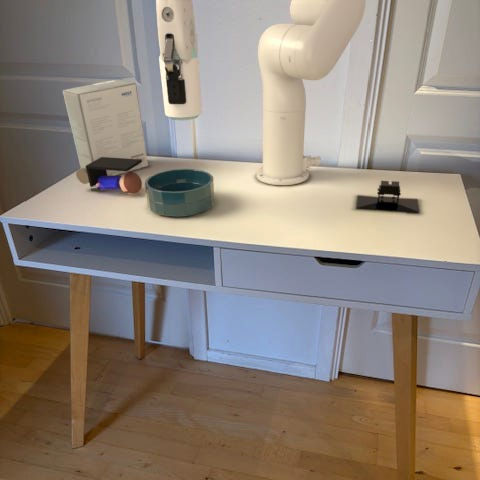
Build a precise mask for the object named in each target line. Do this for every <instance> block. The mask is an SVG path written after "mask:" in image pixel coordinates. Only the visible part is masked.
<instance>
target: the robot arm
mask: <svg viewBox="0 0 480 480" xmlns="http://www.w3.org/2000/svg"><path fill="white" fill-rule="evenodd" d="M366 3H367V0H291V1H290V5H289V16H290V19H291V21H292V23H287V22H286V23H285V22H283V23H282V22H281V23H277V24H273V25H271V26H269V27H267V28H266V29H265V30H264V31H263V32H262V34H261V36H260V38H259V41H258V44H257V61H258V66H259V71H260V77H261V89H262V90H261V91H262V166H261V167H259V168H258V169H257V170H256V172H255V175H256V176H255V177H256V179H257V180H258V181H259V182H261V183H264V184H268V185H273V186H274V185H275V186H293V185H298V184H300V183H303V182H305V181H307V180H308V179H309V177H310V171H309V170H308V169H309V168H310V167H315V166H320V165H321V164H322V162H323V161H322V157H321V156H315V157H312V155H305V154H304V152H305V151H304V149H305V126H306V108H307V106H306V105H307V95H306V88H305V84H304V82H303V80H305V81H306V80H307V81H320V80H322V79H323V78H326V77H327V76H328V75H329V74H330V73H331V72H332V70H333V69H334V68H335V66H336V64H337V63H338V61H339V60H340V58H341V56H342V55H343V53H344V52H345V50H346V48H347V47H348V45H349V44H350V42H351V40H352V39H353V37H354V35H355V34H356V32H357V30H358V29H359V27H360V24H361V23H362V20H363V17H364V13H365V9H366ZM155 9H156V10H155V11H156V25H157V37H158V47H159V55H160V54H161V59H162V60H163V61H164V63H165V66H166V67H165V71H166V83H167V93H168V102H169V104H185V103H186V92H185V80H184V79H182V73H183V67H182V60H185V62H186V63H188V62H190V61H191V56H192V51H193V46H194V50H195V51H196V53H197V55H198V56H199V48H198V47H199V46H198V37H197V27H196V20H195V10H194V3H193V0H155ZM173 56H179V60H173ZM176 65H178V70H177V67H176Z"/></svg>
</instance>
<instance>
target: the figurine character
mask: <svg viewBox="0 0 480 480" xmlns="http://www.w3.org/2000/svg"><path fill="white" fill-rule="evenodd" d="M141 162H142V160H141V159H126V158H109V157H101V158H99V159H97V160H95V161H93V162H92V163H90V164H88V165H86V168H81V167H80V168H79V169H77V170H76V173H75V177H76V178H77V180H78V181H79V182H80V183H81V184H83V185H87V184H89V187H90V189H89V190H90V191H101V190H121V191H122V192H123V193H125V194H127V195H135V194H137V193H139V192H140V191H141V189H142V186H143V181H142V178H141V177H140V175H139V174H138V173H137V172H134V171H129V170H130V169H132V168H133V167H135V166H137V165H138V164H140V163H141ZM106 170H113V171H129V172H125V173H122V174H121V175H116V176H107V171H106ZM95 186H96V187H95Z"/></svg>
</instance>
